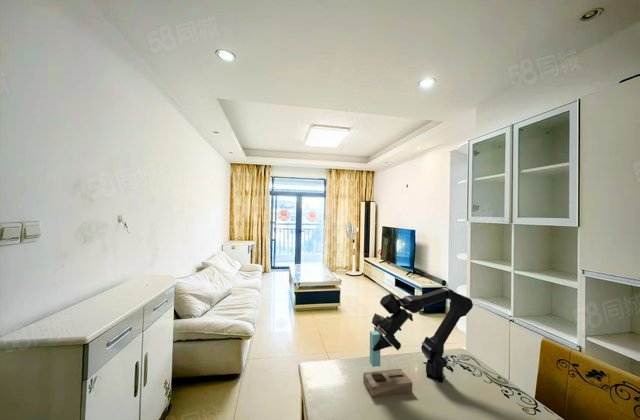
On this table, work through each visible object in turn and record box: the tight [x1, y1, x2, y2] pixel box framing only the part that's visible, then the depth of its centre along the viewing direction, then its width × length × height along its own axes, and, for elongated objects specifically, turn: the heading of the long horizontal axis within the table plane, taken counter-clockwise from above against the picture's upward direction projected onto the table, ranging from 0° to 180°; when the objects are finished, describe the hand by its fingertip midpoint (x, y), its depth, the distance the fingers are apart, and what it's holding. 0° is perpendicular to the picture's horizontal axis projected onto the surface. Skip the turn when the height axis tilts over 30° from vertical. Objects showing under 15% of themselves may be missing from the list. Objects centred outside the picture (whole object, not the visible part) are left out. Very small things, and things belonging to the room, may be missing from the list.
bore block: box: [363, 368, 413, 398], centre depth 99 cm, size 9×17×4 cm, turn 101°
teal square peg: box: [369, 330, 381, 368], centre depth 103 cm, size 3×3×13 cm
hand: (371, 348), depth 103 cm, fingers closed on teal square peg, 3 cm apart
